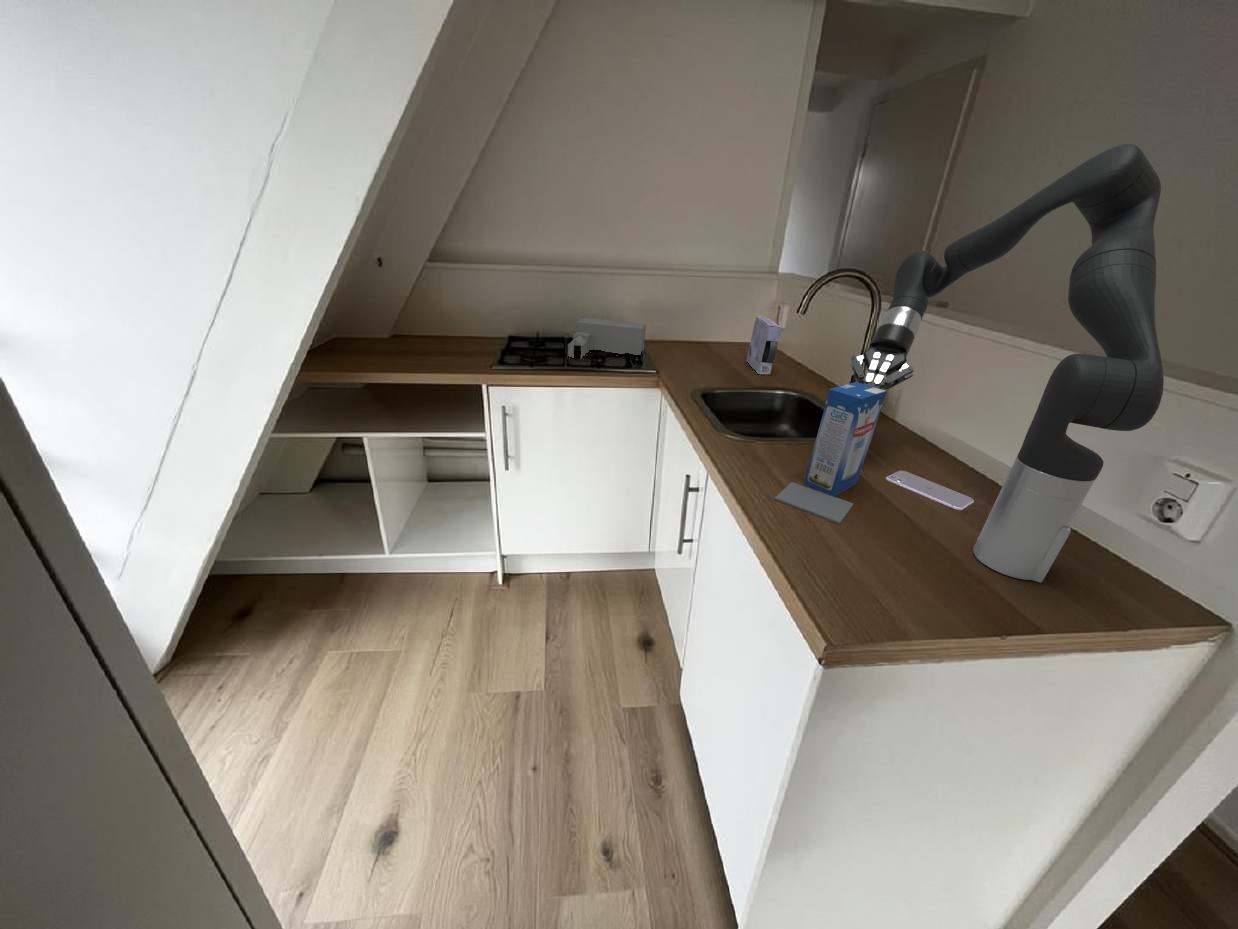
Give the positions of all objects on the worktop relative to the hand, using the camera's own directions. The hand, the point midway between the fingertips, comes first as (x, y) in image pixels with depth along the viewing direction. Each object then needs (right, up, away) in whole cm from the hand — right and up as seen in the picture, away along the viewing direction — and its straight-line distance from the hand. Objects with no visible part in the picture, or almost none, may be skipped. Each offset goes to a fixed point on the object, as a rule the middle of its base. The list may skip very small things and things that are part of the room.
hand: (865, 400), depth 102 cm
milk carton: (-8, -17, -2) cm, 19 cm away
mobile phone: (+13, -19, 0) cm, 23 cm away
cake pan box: (0, +22, +80) cm, 82 cm away
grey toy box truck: (-56, +28, +83) cm, 104 cm away
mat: (-14, -20, -9) cm, 27 cm away
